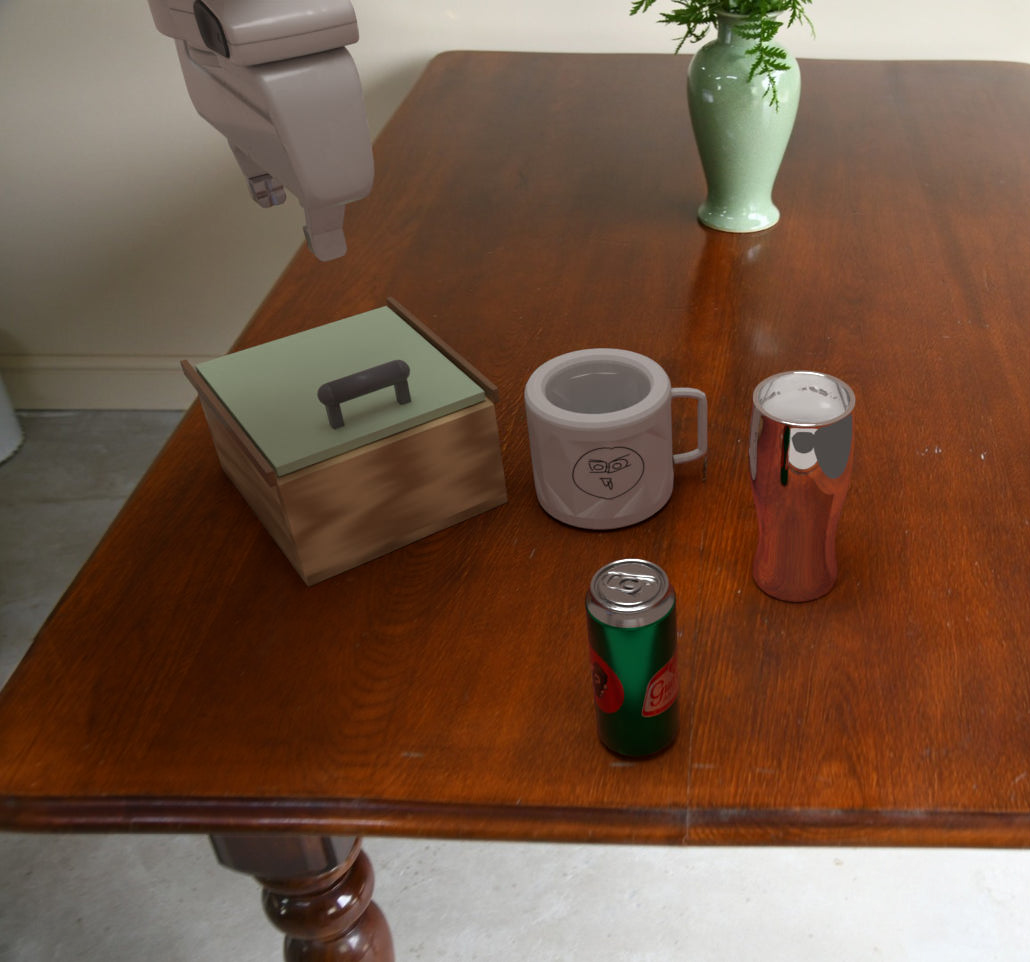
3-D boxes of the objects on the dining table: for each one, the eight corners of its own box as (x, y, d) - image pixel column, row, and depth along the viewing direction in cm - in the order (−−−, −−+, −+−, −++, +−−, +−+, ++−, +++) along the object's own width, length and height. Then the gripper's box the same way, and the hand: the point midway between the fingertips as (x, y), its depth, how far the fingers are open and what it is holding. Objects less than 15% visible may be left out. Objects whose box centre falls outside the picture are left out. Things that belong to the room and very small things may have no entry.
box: (301, 590, 79) (266, 473, 73) (215, 470, 91) (179, 360, 84) (513, 499, 88) (498, 387, 81) (411, 400, 99) (391, 296, 93)
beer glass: (863, 582, 80) (881, 404, 71) (785, 621, 77) (793, 439, 68) (803, 531, 85) (813, 357, 76) (727, 565, 81) (727, 388, 72)
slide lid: (278, 477, 75) (263, 425, 72) (197, 373, 85) (182, 325, 83) (485, 400, 82) (478, 351, 80) (388, 314, 93) (379, 268, 90)
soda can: (662, 771, 67) (656, 624, 59) (584, 750, 68) (568, 603, 61) (691, 709, 70) (688, 564, 63) (616, 690, 72) (605, 546, 64)
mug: (541, 541, 83) (527, 429, 77) (532, 458, 92) (519, 351, 86) (720, 519, 86) (720, 409, 80) (695, 440, 94) (694, 335, 88)
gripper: (118, -41, 65) (191, 187, 73) (241, 40, 52) (311, 306, 60) (228, -58, 68) (285, 163, 76) (370, 15, 55) (420, 272, 63)
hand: (298, 227), depth 68 cm, fingers open, 8 cm apart
